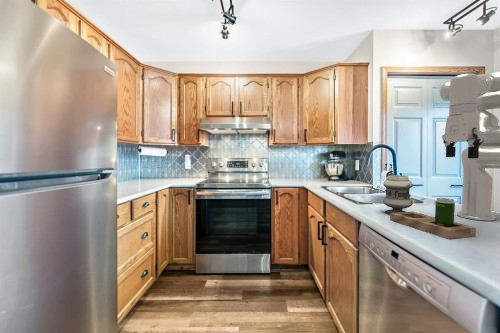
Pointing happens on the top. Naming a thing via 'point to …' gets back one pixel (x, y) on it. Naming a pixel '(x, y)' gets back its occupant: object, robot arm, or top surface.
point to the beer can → (444, 212)
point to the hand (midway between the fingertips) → (461, 157)
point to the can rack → (432, 225)
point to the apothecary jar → (397, 193)
